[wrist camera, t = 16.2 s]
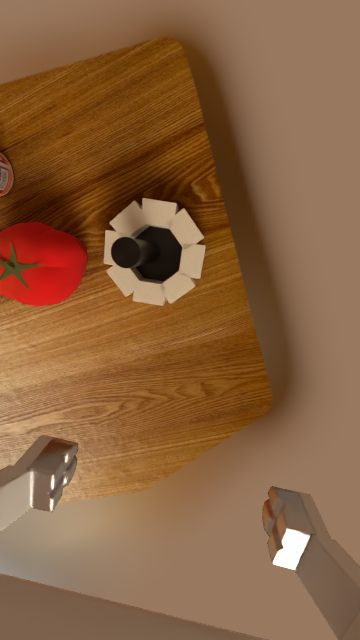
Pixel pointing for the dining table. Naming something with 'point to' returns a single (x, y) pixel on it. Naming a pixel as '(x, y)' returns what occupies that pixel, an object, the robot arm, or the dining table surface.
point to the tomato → (40, 263)
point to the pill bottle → (5, 175)
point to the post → (149, 253)
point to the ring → (185, 232)
